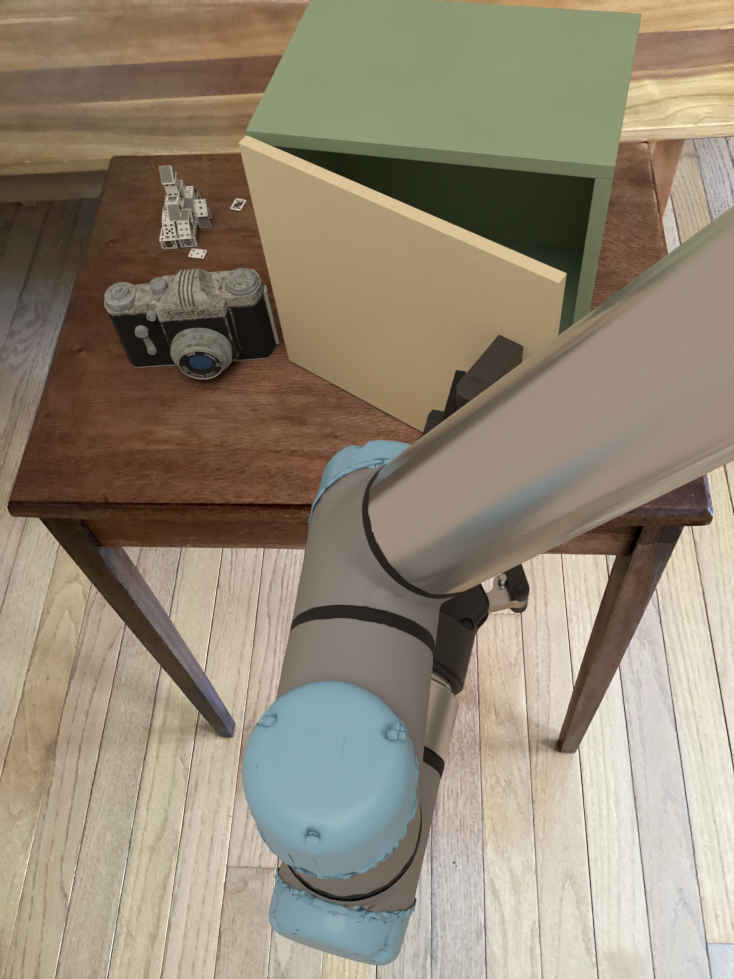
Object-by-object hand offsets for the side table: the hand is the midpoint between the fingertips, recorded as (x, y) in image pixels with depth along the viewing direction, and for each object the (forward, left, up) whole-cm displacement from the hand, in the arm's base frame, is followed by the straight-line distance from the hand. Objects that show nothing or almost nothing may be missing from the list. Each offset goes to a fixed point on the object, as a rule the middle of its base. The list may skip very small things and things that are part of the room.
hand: (480, 385), depth 68 cm
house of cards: (+42, -5, -12) cm, 44 cm away
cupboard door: (+8, +2, -12) cm, 15 cm away
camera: (+28, +7, -12) cm, 31 cm away
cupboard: (+15, -14, -12) cm, 24 cm away
